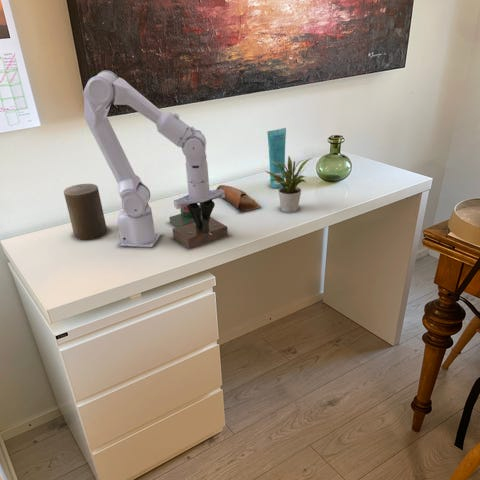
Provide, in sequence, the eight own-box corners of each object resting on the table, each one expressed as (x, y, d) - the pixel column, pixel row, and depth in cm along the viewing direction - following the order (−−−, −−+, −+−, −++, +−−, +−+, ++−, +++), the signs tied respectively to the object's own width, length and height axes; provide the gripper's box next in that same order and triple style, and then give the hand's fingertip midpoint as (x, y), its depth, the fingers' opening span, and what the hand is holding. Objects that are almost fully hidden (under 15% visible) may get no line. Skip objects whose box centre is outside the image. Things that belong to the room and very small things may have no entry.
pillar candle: (99, 240, 145) (88, 190, 136) (68, 239, 147) (55, 190, 138) (112, 227, 153) (102, 179, 144) (82, 226, 154) (71, 178, 146)
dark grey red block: (209, 231, 139) (208, 219, 137) (204, 233, 139) (203, 220, 137) (200, 225, 143) (199, 212, 141) (195, 226, 143) (194, 214, 141)
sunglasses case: (262, 206, 160) (252, 190, 155) (245, 220, 160) (235, 205, 155) (237, 189, 173) (227, 175, 169) (222, 203, 173) (212, 189, 169)
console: (192, 251, 137) (191, 240, 135) (173, 238, 144) (172, 228, 142) (231, 238, 142) (231, 227, 141) (211, 226, 150) (210, 216, 148)
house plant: (295, 196, 167) (296, 146, 158) (323, 208, 157) (325, 156, 148) (260, 206, 161) (259, 155, 152) (287, 220, 151) (287, 166, 142)
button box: (182, 231, 148) (181, 218, 146) (168, 222, 154) (167, 210, 152) (211, 222, 152) (210, 210, 150) (196, 214, 158) (195, 202, 156)
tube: (280, 181, 180) (280, 126, 169) (289, 185, 177) (290, 128, 166) (264, 186, 176) (263, 130, 165) (273, 190, 173) (273, 132, 162)
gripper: (215, 170, 139) (218, 216, 146) (166, 181, 133) (173, 228, 141) (227, 177, 134) (229, 224, 141) (177, 188, 128) (183, 237, 136)
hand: (202, 226), depth 141 cm, fingers closed on dark grey red block, 2 cm apart
